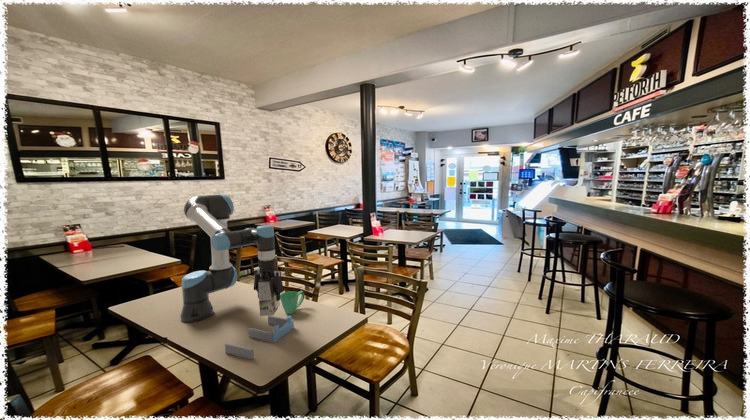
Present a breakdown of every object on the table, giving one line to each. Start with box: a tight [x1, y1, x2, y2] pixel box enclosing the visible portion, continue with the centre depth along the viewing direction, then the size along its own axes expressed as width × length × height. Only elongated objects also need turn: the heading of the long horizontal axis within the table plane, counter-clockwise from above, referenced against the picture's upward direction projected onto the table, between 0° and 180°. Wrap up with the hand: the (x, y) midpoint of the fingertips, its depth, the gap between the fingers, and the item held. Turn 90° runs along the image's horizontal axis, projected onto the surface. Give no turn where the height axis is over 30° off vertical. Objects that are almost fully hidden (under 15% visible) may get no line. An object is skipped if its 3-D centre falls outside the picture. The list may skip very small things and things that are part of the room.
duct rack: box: [224, 315, 295, 360], centre depth 130 cm, size 15×27×7 cm, turn 160°
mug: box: [280, 290, 305, 315], centre depth 158 cm, size 15×10×10 cm
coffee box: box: [258, 278, 279, 317], centre depth 134 cm, size 9×6×16 cm
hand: (269, 305), depth 135 cm, fingers closed on coffee box, 8 cm apart
